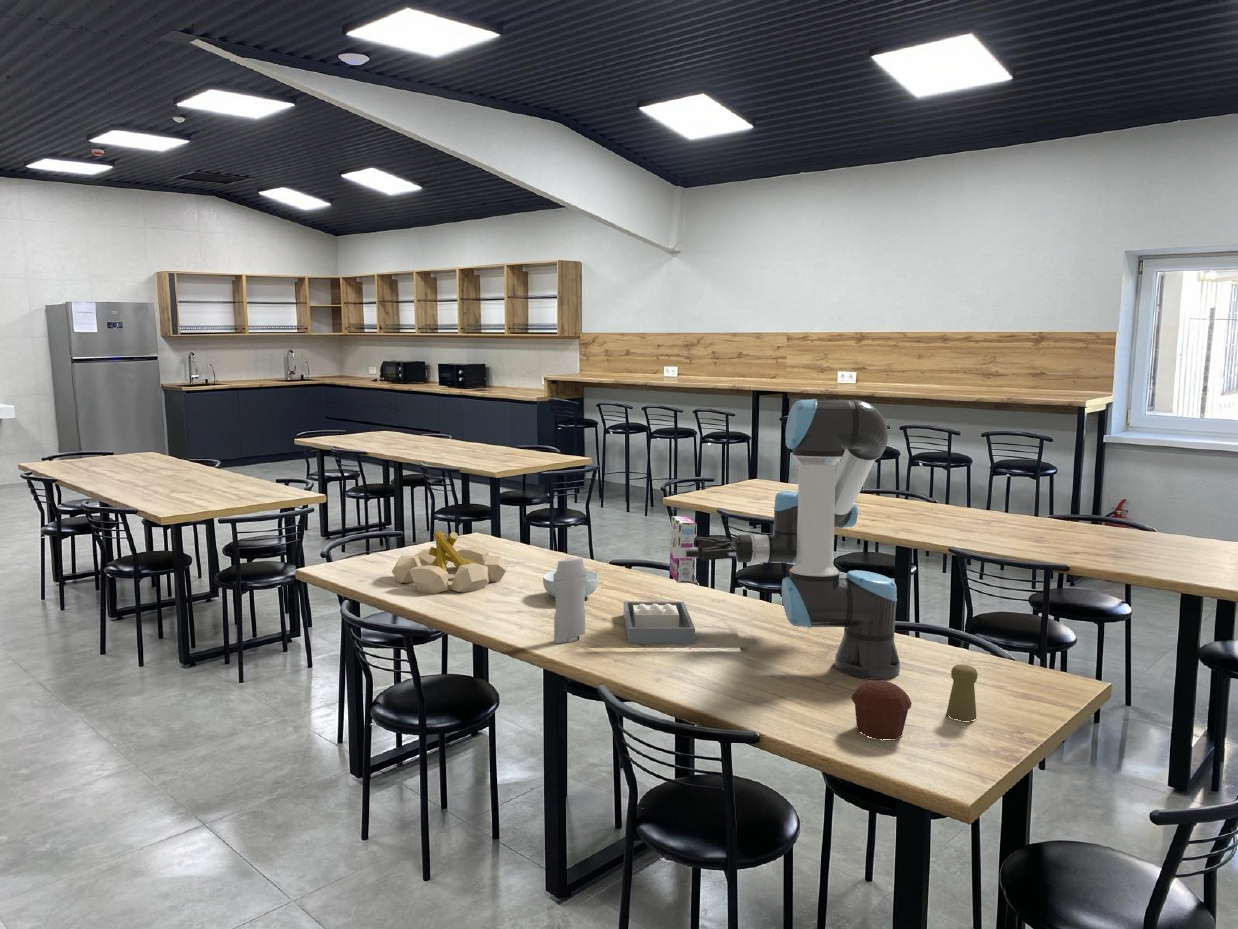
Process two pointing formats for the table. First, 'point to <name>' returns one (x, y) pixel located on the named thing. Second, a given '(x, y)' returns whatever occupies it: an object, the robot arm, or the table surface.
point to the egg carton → (655, 615)
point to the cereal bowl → (589, 585)
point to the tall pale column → (569, 600)
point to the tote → (659, 634)
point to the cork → (963, 693)
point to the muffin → (881, 709)
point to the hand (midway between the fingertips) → (671, 547)
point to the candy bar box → (683, 538)
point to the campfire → (433, 574)
